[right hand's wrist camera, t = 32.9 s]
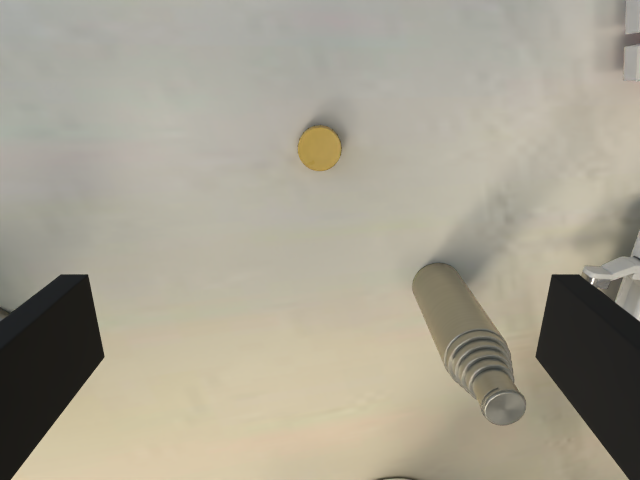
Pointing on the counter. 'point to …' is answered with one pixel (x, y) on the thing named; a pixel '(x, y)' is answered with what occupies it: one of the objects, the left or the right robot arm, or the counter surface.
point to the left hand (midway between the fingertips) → (571, 321)
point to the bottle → (468, 342)
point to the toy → (635, 56)
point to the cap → (319, 148)
